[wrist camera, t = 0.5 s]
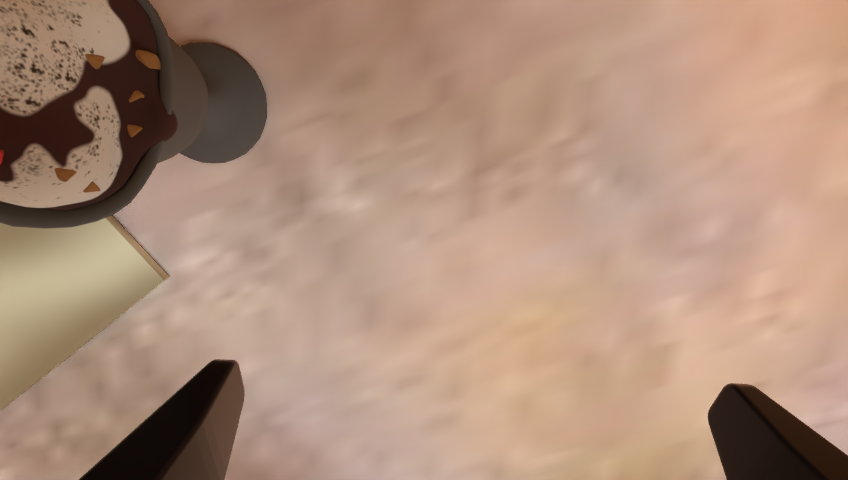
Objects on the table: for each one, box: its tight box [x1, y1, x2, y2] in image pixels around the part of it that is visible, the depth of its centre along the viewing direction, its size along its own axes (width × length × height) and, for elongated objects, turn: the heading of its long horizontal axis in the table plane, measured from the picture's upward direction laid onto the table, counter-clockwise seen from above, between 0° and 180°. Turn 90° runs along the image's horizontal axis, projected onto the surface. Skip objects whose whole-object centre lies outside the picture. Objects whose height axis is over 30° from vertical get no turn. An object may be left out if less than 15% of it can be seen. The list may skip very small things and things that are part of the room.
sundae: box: [0, 0, 267, 228], centre depth 13 cm, size 7×7×15 cm
